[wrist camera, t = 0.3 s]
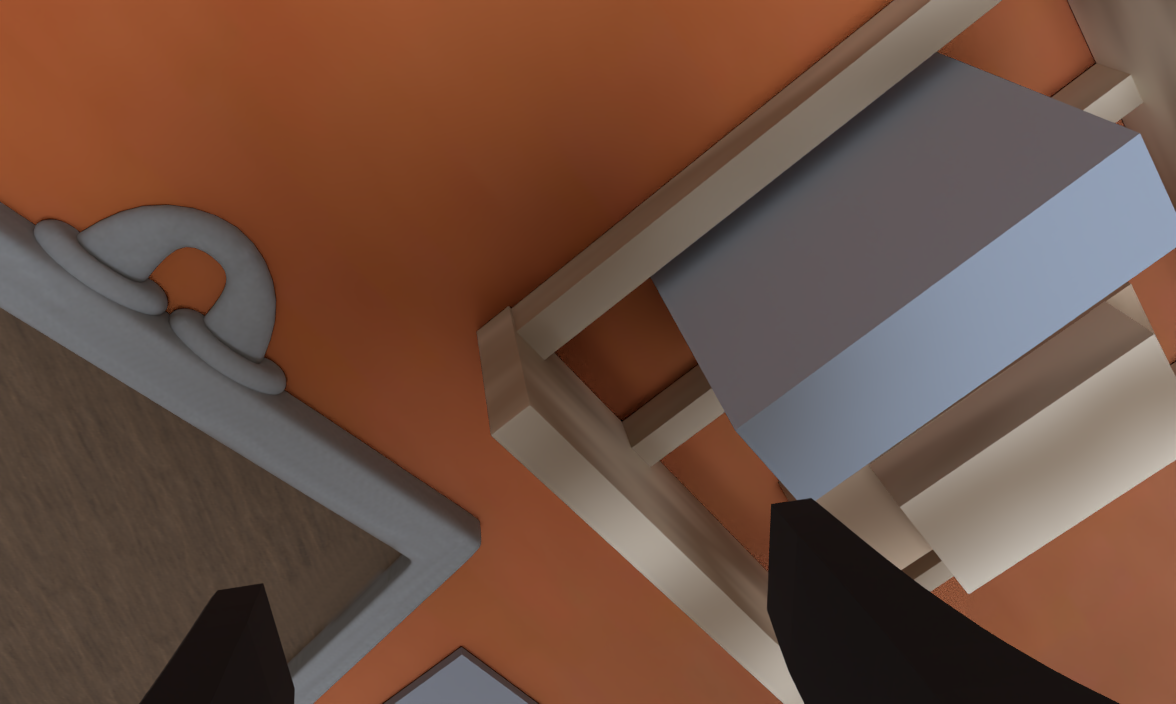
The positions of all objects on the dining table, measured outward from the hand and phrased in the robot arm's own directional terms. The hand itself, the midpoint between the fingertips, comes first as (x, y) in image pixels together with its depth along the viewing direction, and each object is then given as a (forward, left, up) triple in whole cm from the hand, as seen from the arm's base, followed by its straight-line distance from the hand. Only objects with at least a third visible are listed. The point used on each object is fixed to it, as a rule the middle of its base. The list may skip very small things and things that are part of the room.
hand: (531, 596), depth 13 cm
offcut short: (-12, -8, -9) cm, 17 cm away
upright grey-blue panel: (-3, -7, -10) cm, 13 cm away
